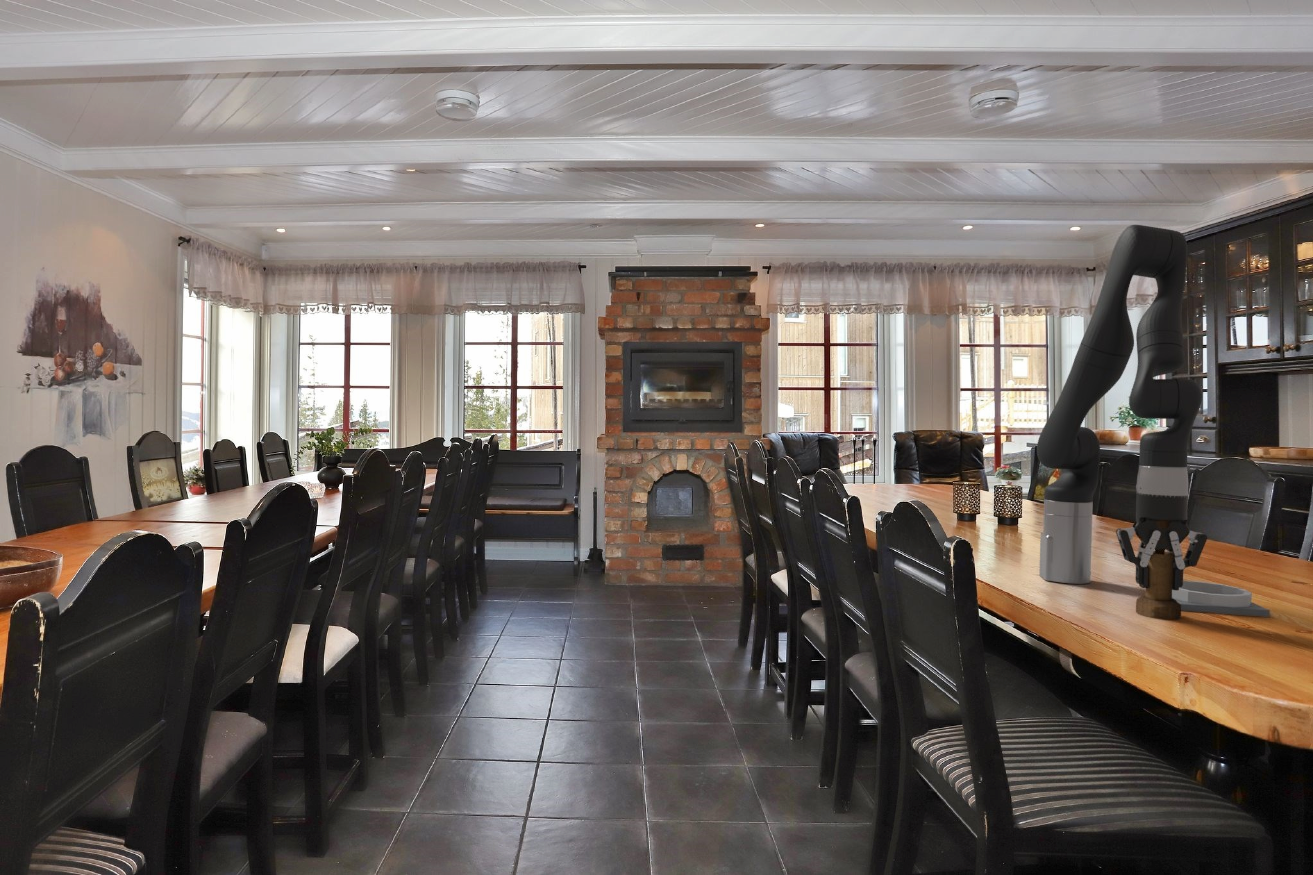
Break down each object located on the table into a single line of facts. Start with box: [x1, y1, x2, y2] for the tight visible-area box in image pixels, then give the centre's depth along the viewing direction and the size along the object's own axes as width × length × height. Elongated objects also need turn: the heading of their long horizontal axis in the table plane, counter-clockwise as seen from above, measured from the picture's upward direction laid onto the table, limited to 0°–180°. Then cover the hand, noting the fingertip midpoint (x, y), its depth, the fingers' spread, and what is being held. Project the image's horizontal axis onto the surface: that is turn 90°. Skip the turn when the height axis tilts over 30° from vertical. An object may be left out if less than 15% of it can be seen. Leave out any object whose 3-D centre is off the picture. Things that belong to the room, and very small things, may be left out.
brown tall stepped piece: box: [1135, 520, 1182, 620], centre depth 132 cm, size 7×6×18 cm
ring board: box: [1172, 579, 1271, 618], centre depth 140 cm, size 14×14×3 cm
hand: (1158, 587), depth 132 cm, fingers open, 4 cm apart
